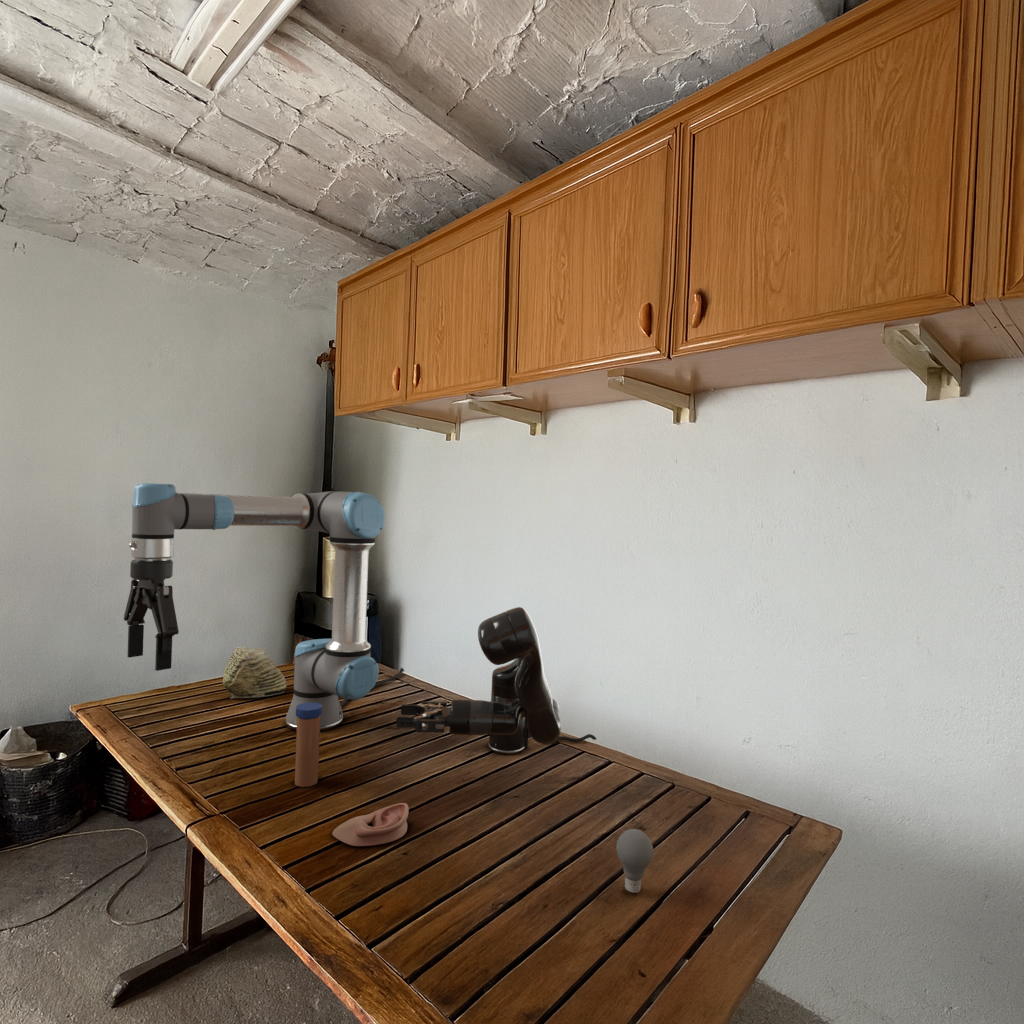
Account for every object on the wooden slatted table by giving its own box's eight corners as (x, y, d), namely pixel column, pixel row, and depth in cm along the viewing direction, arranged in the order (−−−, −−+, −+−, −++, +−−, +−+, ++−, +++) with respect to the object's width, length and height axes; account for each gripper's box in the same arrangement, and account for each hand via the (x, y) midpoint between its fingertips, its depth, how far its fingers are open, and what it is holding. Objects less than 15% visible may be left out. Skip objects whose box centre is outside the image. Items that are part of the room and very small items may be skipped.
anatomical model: (325, 820, 116) (352, 792, 127) (324, 841, 116) (352, 812, 128) (392, 830, 114) (415, 801, 125) (392, 852, 114) (414, 821, 125)
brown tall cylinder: (320, 777, 143) (323, 705, 142) (313, 787, 138) (316, 712, 138) (299, 776, 143) (302, 704, 143) (291, 786, 138) (293, 711, 138)
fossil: (218, 695, 195) (220, 647, 195) (278, 685, 208) (279, 640, 207) (228, 703, 189) (230, 653, 188) (289, 692, 201) (290, 645, 201)
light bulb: (610, 879, 108) (613, 822, 108) (644, 879, 109) (647, 822, 109) (619, 902, 102) (622, 840, 102) (655, 901, 103) (658, 840, 103)
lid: (325, 711, 143) (325, 703, 143) (316, 719, 137) (317, 711, 137) (301, 710, 143) (301, 701, 143) (292, 718, 137) (292, 709, 137)
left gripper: (108, 554, 134) (104, 654, 134) (159, 565, 118) (155, 678, 119) (146, 552, 140) (143, 648, 140) (199, 563, 124) (195, 671, 124)
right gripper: (472, 691, 149) (403, 689, 148) (472, 710, 135) (395, 708, 134) (470, 723, 149) (401, 721, 148) (470, 745, 135) (394, 743, 134)
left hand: (148, 662), depth 129 cm, fingers open, 13 cm apart
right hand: (398, 715), depth 141 cm, fingers open, 8 cm apart
